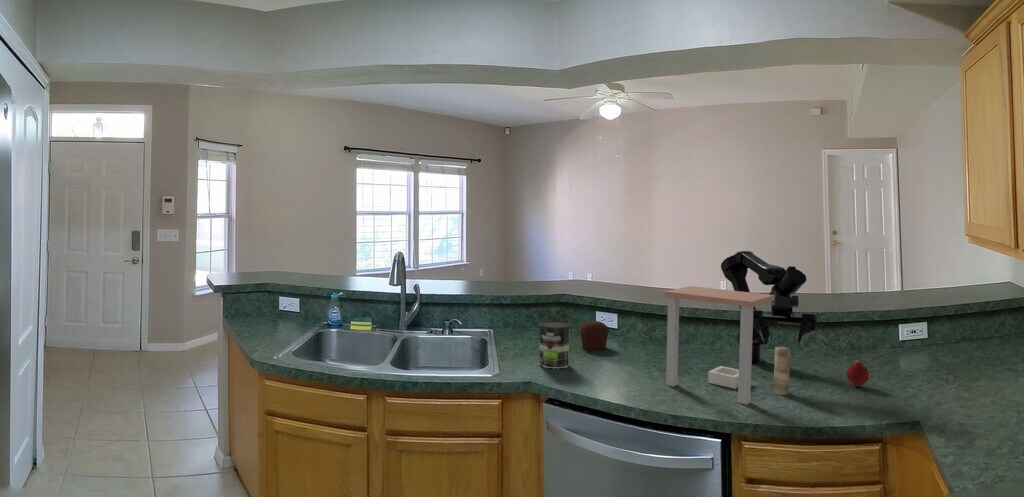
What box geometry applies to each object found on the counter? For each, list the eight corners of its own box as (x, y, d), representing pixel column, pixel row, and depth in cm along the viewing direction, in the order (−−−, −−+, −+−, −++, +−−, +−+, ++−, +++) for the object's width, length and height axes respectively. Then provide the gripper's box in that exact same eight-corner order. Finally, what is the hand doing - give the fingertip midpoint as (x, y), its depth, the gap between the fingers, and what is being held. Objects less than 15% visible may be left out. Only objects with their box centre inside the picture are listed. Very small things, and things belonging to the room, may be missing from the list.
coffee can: (564, 370, 186) (564, 328, 185) (534, 367, 190) (535, 326, 189) (573, 362, 196) (573, 322, 195) (544, 359, 200) (545, 320, 198)
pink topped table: (688, 373, 183) (690, 286, 181) (771, 392, 164) (774, 295, 162) (662, 384, 172) (664, 291, 169) (748, 406, 153) (751, 301, 151)
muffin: (577, 350, 212) (578, 324, 212) (579, 343, 223) (579, 318, 222) (610, 352, 210) (610, 325, 210) (609, 344, 221) (610, 319, 220)
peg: (776, 389, 167) (778, 346, 166) (790, 392, 164) (792, 348, 164) (771, 392, 164) (772, 348, 164) (785, 395, 162) (787, 351, 161)
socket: (720, 376, 180) (720, 366, 179) (746, 382, 174) (747, 371, 173) (708, 382, 174) (708, 371, 173) (735, 388, 168) (735, 377, 167)
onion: (865, 384, 172) (867, 358, 171) (870, 390, 166) (872, 363, 166) (843, 382, 174) (845, 357, 173) (848, 388, 168) (849, 361, 168)
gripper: (749, 283, 177) (748, 325, 168) (817, 287, 170) (819, 331, 160) (749, 304, 185) (747, 345, 175) (813, 309, 178) (815, 352, 168)
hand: (781, 343), depth 170 cm, fingers open, 9 cm apart
